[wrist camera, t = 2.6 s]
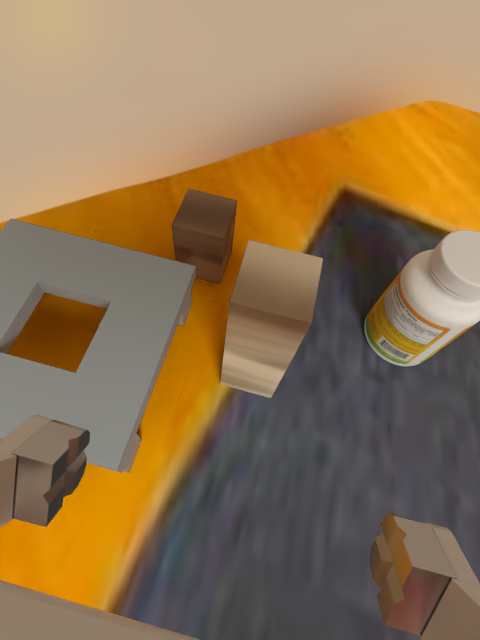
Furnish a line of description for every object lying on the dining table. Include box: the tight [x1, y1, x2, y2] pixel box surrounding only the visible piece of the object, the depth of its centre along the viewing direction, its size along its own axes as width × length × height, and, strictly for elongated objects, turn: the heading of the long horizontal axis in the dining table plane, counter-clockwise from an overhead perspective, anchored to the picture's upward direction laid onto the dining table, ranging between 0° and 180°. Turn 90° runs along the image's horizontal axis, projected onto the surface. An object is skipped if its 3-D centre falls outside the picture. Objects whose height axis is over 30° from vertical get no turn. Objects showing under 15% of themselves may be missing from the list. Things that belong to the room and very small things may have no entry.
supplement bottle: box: [364, 230, 480, 366], centre depth 24 cm, size 5×5×10 cm
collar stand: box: [0, 219, 196, 473], centre depth 24 cm, size 13×13×4 cm
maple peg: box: [220, 240, 323, 398], centre depth 22 cm, size 4×4×11 cm
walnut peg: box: [172, 189, 237, 284], centre depth 28 cm, size 4×4×6 cm
